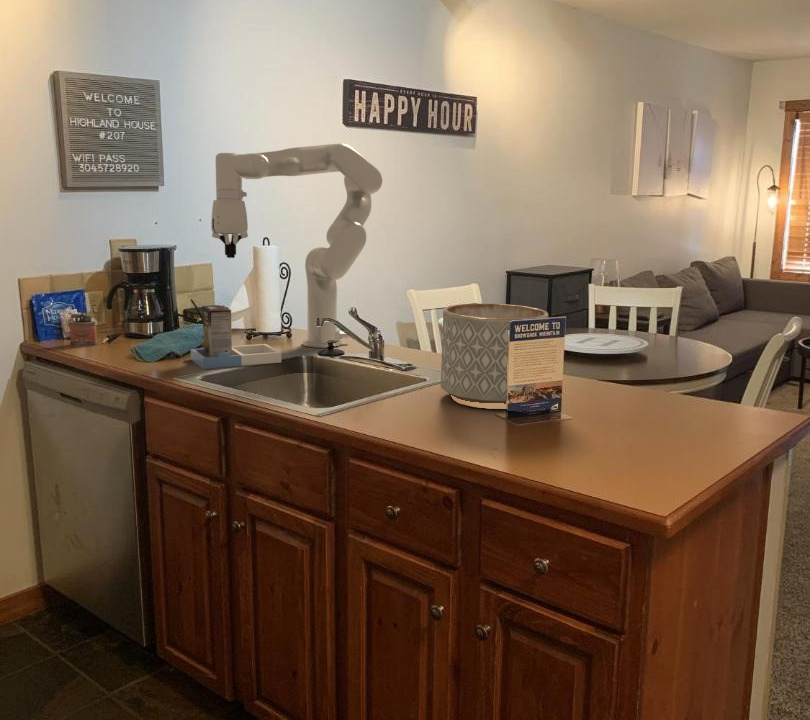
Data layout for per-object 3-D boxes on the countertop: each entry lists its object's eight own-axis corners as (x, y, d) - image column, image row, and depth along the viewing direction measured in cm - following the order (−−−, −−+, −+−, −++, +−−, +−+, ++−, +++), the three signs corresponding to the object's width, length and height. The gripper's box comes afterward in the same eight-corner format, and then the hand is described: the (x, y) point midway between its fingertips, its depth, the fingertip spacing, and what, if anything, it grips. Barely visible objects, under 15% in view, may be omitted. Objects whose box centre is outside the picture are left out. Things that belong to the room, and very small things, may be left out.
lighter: (98, 344, 253) (96, 312, 251) (94, 346, 250) (93, 314, 248) (72, 343, 253) (70, 312, 250) (68, 345, 249) (66, 314, 247)
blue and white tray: (265, 353, 245) (265, 340, 245) (281, 362, 233) (281, 349, 233) (190, 359, 235) (190, 345, 234) (203, 368, 223) (202, 355, 222)
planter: (468, 417, 182) (472, 321, 177) (424, 390, 205) (426, 305, 200) (563, 408, 191) (569, 317, 187) (510, 383, 215) (515, 302, 210)
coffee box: (203, 360, 234) (201, 305, 231) (225, 358, 237) (223, 304, 233) (210, 366, 226) (208, 310, 223) (232, 364, 229) (231, 309, 226)
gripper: (249, 195, 244) (250, 256, 248) (200, 195, 237) (202, 256, 241) (257, 196, 237) (258, 258, 241) (207, 195, 230) (209, 259, 234)
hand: (230, 257), depth 241 cm, fingers closed
